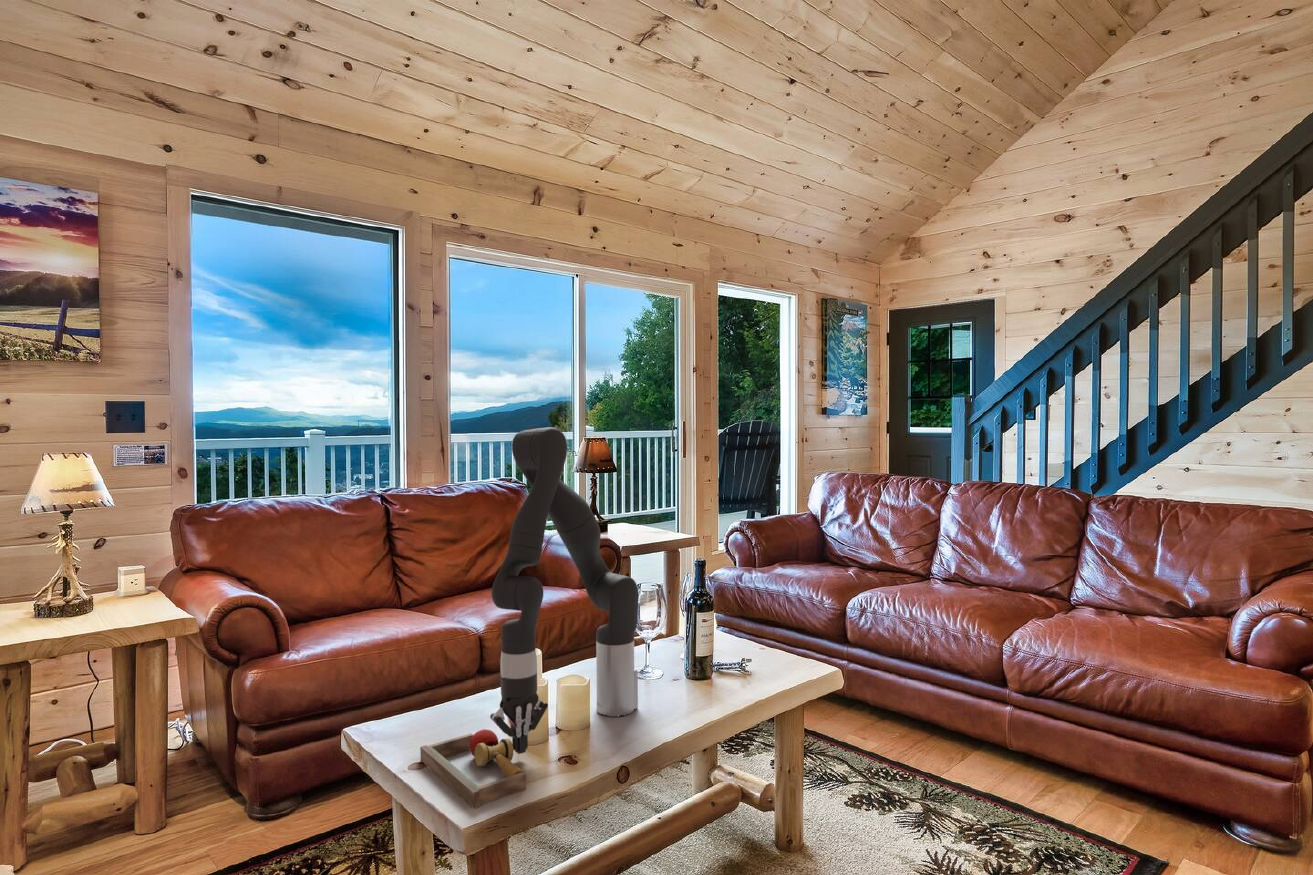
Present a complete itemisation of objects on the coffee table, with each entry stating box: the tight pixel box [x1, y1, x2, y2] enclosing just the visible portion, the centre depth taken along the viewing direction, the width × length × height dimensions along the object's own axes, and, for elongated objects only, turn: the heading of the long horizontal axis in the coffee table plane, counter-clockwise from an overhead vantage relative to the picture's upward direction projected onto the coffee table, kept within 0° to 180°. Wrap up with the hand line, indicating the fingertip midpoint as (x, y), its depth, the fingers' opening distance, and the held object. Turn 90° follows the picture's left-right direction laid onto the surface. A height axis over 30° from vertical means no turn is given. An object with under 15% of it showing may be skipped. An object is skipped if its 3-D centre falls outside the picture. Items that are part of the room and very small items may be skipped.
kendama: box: [469, 728, 524, 777], centre depth 161 cm, size 8×6×18 cm
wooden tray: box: [419, 733, 527, 809], centre depth 158 cm, size 11×25×3 cm, turn 39°
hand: (520, 751), depth 165 cm, fingers closed
